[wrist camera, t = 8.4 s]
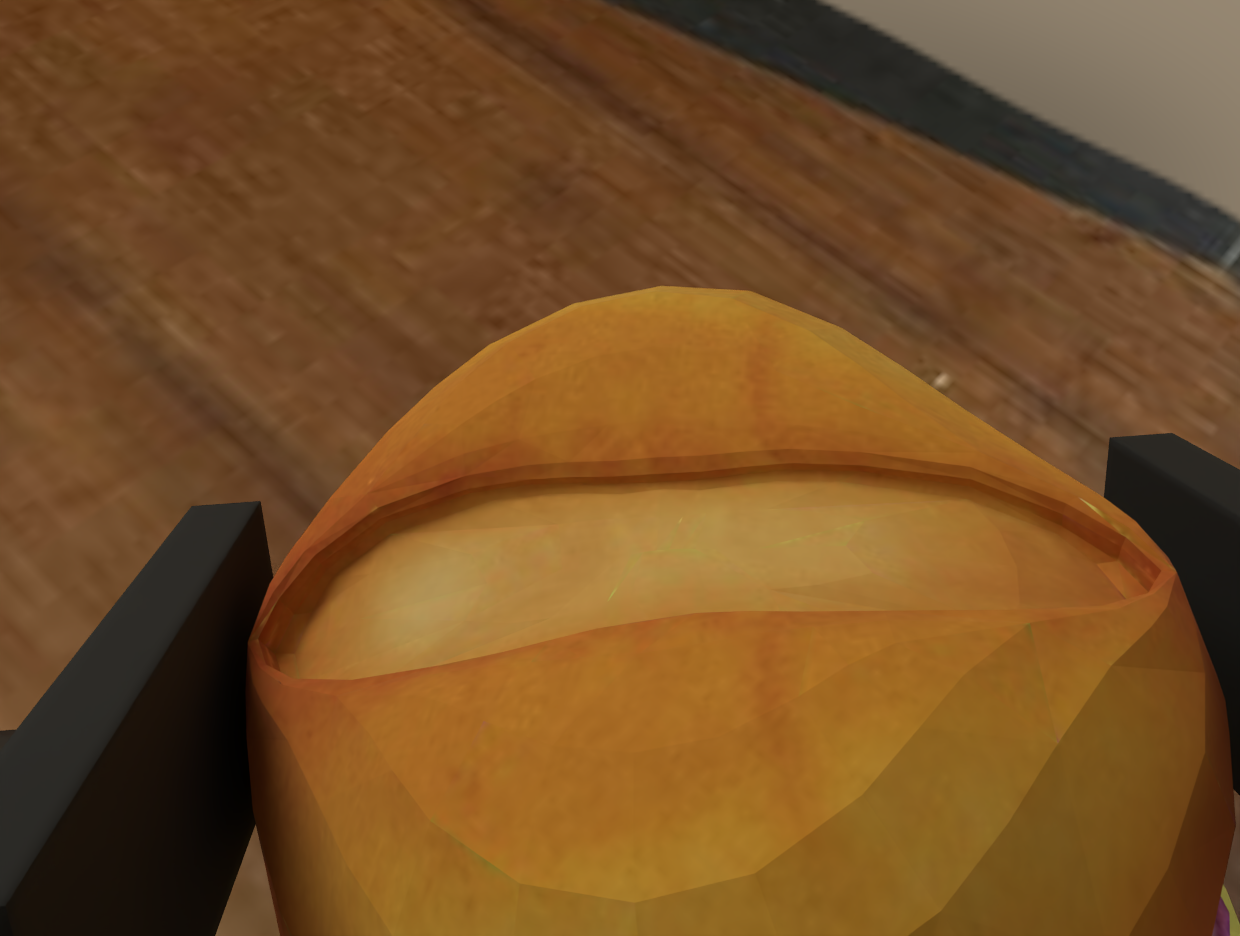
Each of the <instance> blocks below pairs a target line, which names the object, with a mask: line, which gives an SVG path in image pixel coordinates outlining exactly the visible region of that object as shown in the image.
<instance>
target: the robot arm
mask: <svg viewBox="0 0 1240 936" xmlns="http://www.w3.org/2000/svg"><path fill="white" fill-rule="evenodd" d="M1104 498H1105V499H1107V500H1108V501H1109V502H1111V503H1112V504H1113V505H1115V506H1116V507H1117V508H1119V509H1120V510H1121V511H1123V512H1124V513H1125V514H1127V515H1128V516H1129V517H1131V518H1132V519H1133V520H1135V521H1136V522H1137V523H1138V525H1139V526H1140V527H1141V528H1142V529H1143V530H1144V531H1145V532H1146V533H1147V534H1148V536H1149V537H1150V538H1151V539H1152V540H1153V541H1154V542H1155V543H1156V544H1157V546H1158V547H1159V548H1160V549H1161V550H1162V551H1163V552H1164V553H1165V554H1166V555H1167V557H1168V558H1169V560H1170V561H1171V563H1172V565H1173V566H1174V568H1175V570H1176V572H1177V574H1178V576H1179V579H1180V582H1181V584H1182V587H1183V589H1184V592H1185V594H1186V597H1187V600H1188V602H1189V605H1190V607H1191V610H1192V612H1193V615H1194V617H1195V620H1196V623H1197V625H1198V628H1199V630H1200V633H1201V635H1202V638H1203V641H1204V643H1205V646H1206V648H1207V651H1208V653H1209V656H1210V658H1211V661H1212V664H1213V666H1214V669H1215V671H1216V674H1217V677H1218V680H1219V683H1220V686H1221V689H1222V692H1223V695H1224V698H1225V702H1226V710H1227V719H1228V727H1229V735H1230V750H1231V765H1232V780H1233V789H1234V790H1235V791H1236V792H1237V793H1238V794H1239V795H1240V470H1239V469H1237V468H1235V467H1234V466H1232V465H1230V464H1228V463H1226V462H1224V461H1223V460H1221V459H1219V458H1217V457H1215V456H1213V455H1212V454H1210V453H1208V452H1206V451H1204V450H1202V449H1201V448H1199V447H1197V446H1195V445H1193V444H1191V443H1190V442H1188V441H1186V440H1184V439H1182V438H1180V437H1179V436H1177V435H1175V434H1173V433H1166V434H1153V435H1139V436H1126V437H1113V438H1110V440H1109V451H1108V461H1107V471H1106V481H1105V492H1104ZM272 579H273V573H272V567H271V561H270V555H269V549H268V543H267V537H266V531H265V525H264V519H263V513H262V507H261V501H255V502H242V503H229V504H215V505H202V506H192V507H191V508H190V509H189V510H188V512H187V513H186V514H185V515H184V517H183V518H182V519H181V521H180V522H179V523H178V524H177V526H176V527H175V528H174V530H173V531H172V532H171V533H170V535H169V536H168V537H167V538H166V540H165V541H164V542H163V544H162V545H161V546H160V547H159V549H158V550H157V551H156V552H155V554H154V555H153V556H152V558H151V559H150V560H149V561H148V563H147V564H146V565H145V566H144V568H143V569H142V570H141V572H140V573H139V574H138V575H137V577H136V578H135V579H134V581H133V582H132V583H131V584H130V586H129V587H128V588H127V589H126V591H125V592H124V593H123V595H122V596H121V597H120V598H119V600H118V601H117V602H116V603H115V605H114V606H113V607H112V609H111V610H110V611H109V612H108V614H107V615H106V616H105V617H104V619H103V620H102V621H101V623H100V624H99V625H98V626H97V628H96V629H95V630H94V632H93V633H92V634H91V635H90V637H89V638H88V639H87V640H86V642H85V643H84V644H83V646H82V647H81V648H80V649H79V651H78V652H77V653H76V654H75V656H74V657H73V658H72V660H71V661H70V662H69V663H68V665H67V666H66V667H65V668H64V670H63V671H62V672H61V674H60V675H59V676H58V677H57V679H56V680H55V681H54V683H53V684H52V685H51V686H50V688H49V689H48V690H47V691H46V693H45V694H44V695H43V697H42V698H41V699H40V700H39V702H38V703H37V704H36V705H35V707H34V708H33V709H32V711H31V712H30V713H29V714H28V716H27V717H26V718H25V720H24V721H23V722H22V723H21V725H20V726H19V727H18V728H17V730H5V731H0V936H215V934H216V932H217V929H218V926H219V923H220V921H221V918H222V915H223V912H224V910H225V907H226V904H227V901H228V899H229V896H230V893H231V890H232V887H233V885H234V882H235V879H236V876H237V874H238V871H239V868H240V865H241V863H242V860H243V857H244V854H245V852H246V849H247V846H248V843H249V841H250V838H251V835H252V832H253V830H254V827H255V824H256V822H255V818H254V813H253V806H252V795H251V783H250V772H249V760H248V749H247V735H246V695H245V689H246V668H247V647H248V640H249V637H250V635H251V632H252V630H253V627H254V624H255V622H256V619H257V616H258V614H259V611H260V608H261V606H262V603H263V600H264V598H265V595H266V592H267V590H268V587H269V584H270V583H271V581H272Z"/></svg>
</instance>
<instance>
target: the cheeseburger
mask: <svg viewBox="0 0 1240 936" xmlns="http://www.w3.org/2000/svg"><path fill="white" fill-rule="evenodd" d="M245 695H246V735H247V749H248V760H249V772H250V783H251V795H252V806H253V813H254V818H255V822H256V827H257V831H258V835H259V840H260V844H261V849H262V853H263V857H264V862H265V867H266V871H267V876H268V881H269V885H270V890H271V895H272V899H273V904H274V909H275V913H276V918H277V923H278V927H279V932H280V936H1240V923H1239V921H1238V918H1237V916H1236V913H1235V911H1234V908H1233V905H1232V903H1231V900H1230V898H1229V895H1228V893H1227V890H1226V889H1225V887H1224V885H1223V882H1224V878H1225V873H1226V868H1227V864H1228V859H1229V854H1230V850H1231V845H1232V840H1233V836H1234V831H1235V826H1236V824H1235V809H1234V794H1233V780H1232V765H1231V750H1230V735H1229V727H1228V719H1227V710H1226V702H1225V698H1224V695H1223V692H1222V689H1221V686H1220V683H1219V680H1218V677H1217V674H1216V671H1215V669H1214V666H1213V664H1212V661H1211V658H1210V656H1209V653H1208V651H1207V648H1206V646H1205V643H1204V641H1203V638H1202V635H1201V633H1200V630H1199V628H1198V625H1197V623H1196V620H1195V617H1194V615H1193V612H1192V610H1191V607H1190V605H1189V602H1188V600H1187V597H1186V594H1185V592H1184V589H1183V587H1182V584H1181V582H1180V579H1179V576H1178V574H1177V572H1176V570H1175V568H1174V566H1173V565H1172V563H1171V561H1170V560H1169V558H1168V557H1167V555H1166V554H1165V553H1164V552H1163V551H1162V550H1161V549H1160V548H1159V547H1158V546H1157V544H1156V543H1155V542H1154V541H1153V540H1152V539H1151V538H1150V537H1149V536H1148V534H1147V533H1146V532H1145V531H1144V530H1143V529H1142V528H1141V527H1140V526H1139V525H1138V523H1137V522H1136V521H1135V520H1133V519H1132V518H1131V517H1129V516H1128V515H1127V514H1125V513H1124V512H1123V511H1121V510H1120V509H1119V508H1117V507H1116V506H1115V505H1113V504H1112V503H1111V502H1109V501H1108V500H1107V499H1105V498H1104V497H1102V496H1101V495H1099V494H1097V493H1096V492H1094V491H1092V490H1091V489H1089V488H1088V487H1086V486H1084V485H1083V484H1081V483H1079V482H1078V481H1076V480H1075V479H1073V478H1071V477H1070V476H1068V475H1066V474H1065V473H1063V472H1062V471H1060V470H1058V469H1057V468H1055V467H1053V466H1052V465H1050V464H1049V463H1047V462H1045V461H1044V460H1042V459H1040V458H1039V457H1037V456H1036V455H1034V454H1033V453H1031V452H1030V451H1028V450H1027V449H1025V448H1023V447H1022V446H1020V445H1019V444H1017V443H1016V442H1014V441H1013V440H1011V439H1010V438H1008V437H1006V436H1005V435H1003V434H1002V433H1000V432H999V431H997V430H996V429H994V428H993V427H991V426H989V425H988V424H986V423H985V422H983V421H982V420H980V419H979V418H977V417H976V416H974V415H972V414H971V413H969V412H968V411H966V410H965V409H963V408H962V407H960V406H959V405H957V404H956V403H954V402H953V401H952V400H950V399H949V398H947V397H946V396H944V395H943V394H941V393H940V392H938V391H937V390H936V389H934V388H933V387H931V386H930V385H928V384H927V383H925V382H924V381H922V380H921V379H920V378H918V377H917V376H915V375H914V374H912V373H911V372H909V371H908V370H906V369H905V368H903V367H902V366H900V365H899V364H897V363H896V362H894V361H892V360H891V359H889V358H888V357H886V356H885V355H883V354H882V353H880V352H878V351H877V350H875V349H874V348H872V347H871V346H869V345H867V344H866V343H864V342H863V341H861V340H860V339H858V338H856V337H855V336H853V335H852V334H850V333H849V332H847V331H845V330H844V329H842V328H841V327H838V326H836V325H833V324H831V323H828V322H826V321H823V320H821V319H818V318H816V317H813V316H811V315H808V314H806V313H804V312H801V311H799V310H796V309H794V308H791V307H789V306H786V305H784V304H781V303H779V302H776V301H774V300H771V299H769V298H767V297H764V296H762V295H759V294H757V293H754V292H752V291H743V290H726V289H708V288H690V287H672V286H658V287H654V288H649V289H644V290H639V291H634V292H629V293H624V294H619V295H614V296H609V297H604V298H599V299H594V300H589V301H584V302H579V303H574V304H572V305H570V306H568V307H566V308H564V309H562V310H560V311H558V312H556V313H553V314H551V315H549V316H547V317H545V318H543V319H541V320H539V321H537V322H535V323H533V324H531V325H529V326H527V327H525V328H523V329H521V330H519V331H517V332H514V333H512V334H510V335H508V336H506V337H504V338H502V339H500V340H498V341H496V342H494V343H492V344H490V345H488V346H487V347H486V348H484V349H483V350H482V351H480V352H479V353H478V354H477V355H475V356H474V357H473V358H471V359H470V360H469V361H468V362H466V363H465V364H464V365H462V366H461V367H460V368H458V369H457V370H456V371H455V372H453V373H452V374H451V375H449V376H448V377H447V378H445V379H444V380H443V381H442V382H440V383H439V384H438V385H436V386H435V387H434V388H433V389H432V390H431V391H430V392H429V393H428V394H427V395H426V396H425V397H423V398H422V399H421V400H420V401H419V402H418V403H417V404H416V405H415V406H414V407H413V408H412V409H411V410H410V411H409V412H408V413H407V414H406V415H404V416H403V417H402V418H401V419H400V420H399V421H398V422H397V423H396V424H395V425H394V426H393V427H392V428H391V429H390V430H389V431H388V432H387V433H386V434H385V435H384V436H383V437H382V438H381V439H380V441H379V442H378V443H377V444H376V445H375V446H374V448H373V449H372V450H371V451H370V452H369V453H368V455H367V456H366V457H365V458H364V459H363V460H362V462H361V463H360V464H359V465H358V466H357V467H356V468H355V470H354V471H353V472H352V473H351V474H350V475H349V477H348V478H347V479H346V480H345V481H344V482H343V484H342V485H341V486H340V487H339V488H338V489H337V491H336V492H335V493H334V494H333V495H332V496H331V497H330V499H329V500H328V501H327V503H326V504H325V505H324V507H323V508H322V509H321V511H320V512H319V513H318V515H317V516H316V517H315V519H314V520H313V521H312V523H311V524H310V525H309V527H308V528H307V529H306V531H305V532H304V533H303V535H302V536H301V537H300V539H299V540H298V541H297V543H296V544H295V545H294V547H293V548H292V549H291V551H290V552H289V553H288V555H287V557H286V558H285V560H284V561H283V563H282V565H281V566H280V568H279V570H278V571H277V573H276V574H275V576H274V578H273V579H272V581H271V583H270V584H269V587H268V590H267V592H266V595H265V598H264V600H263V603H262V606H261V608H260V611H259V614H258V616H257V619H256V622H255V624H254V627H253V630H252V632H251V635H250V637H249V640H248V647H247V668H246V689H245Z"/></svg>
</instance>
